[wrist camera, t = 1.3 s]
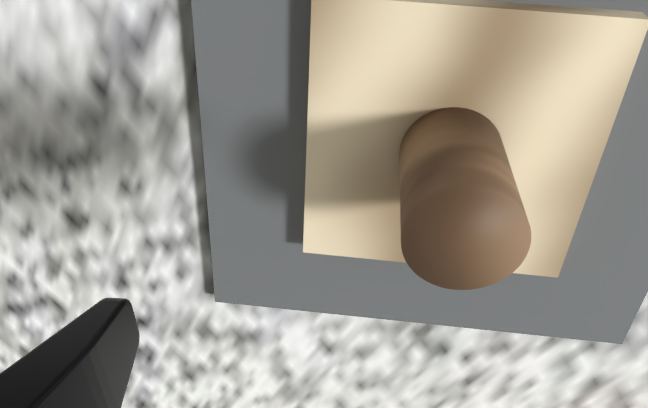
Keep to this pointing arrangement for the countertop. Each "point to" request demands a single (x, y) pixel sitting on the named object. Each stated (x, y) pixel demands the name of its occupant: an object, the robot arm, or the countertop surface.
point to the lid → (459, 131)
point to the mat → (379, 275)
